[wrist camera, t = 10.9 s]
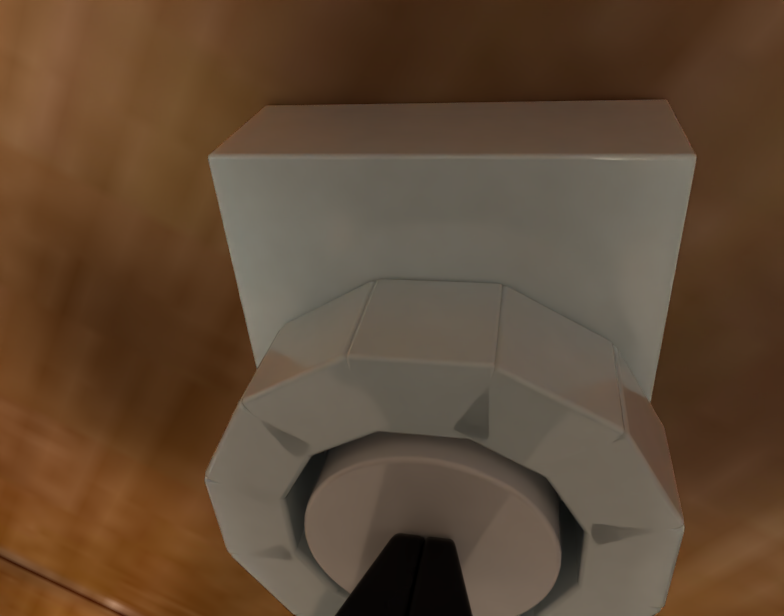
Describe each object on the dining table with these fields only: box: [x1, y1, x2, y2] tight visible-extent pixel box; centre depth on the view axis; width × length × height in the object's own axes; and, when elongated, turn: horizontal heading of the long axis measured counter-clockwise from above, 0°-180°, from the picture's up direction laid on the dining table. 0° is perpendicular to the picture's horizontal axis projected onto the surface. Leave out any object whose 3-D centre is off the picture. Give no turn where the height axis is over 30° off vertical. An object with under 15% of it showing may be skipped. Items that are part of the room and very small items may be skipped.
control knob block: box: [205, 99, 697, 616], centre depth 11 cm, size 10×6×4 cm, turn 4°
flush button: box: [304, 432, 562, 616], centre depth 10 cm, size 4×4×2 cm
